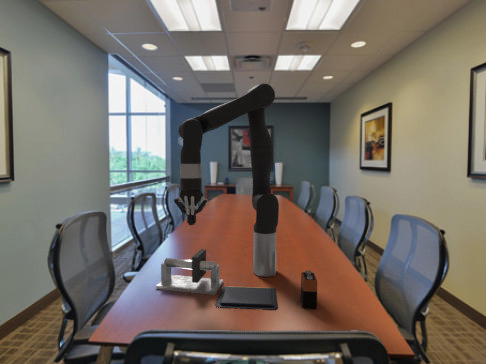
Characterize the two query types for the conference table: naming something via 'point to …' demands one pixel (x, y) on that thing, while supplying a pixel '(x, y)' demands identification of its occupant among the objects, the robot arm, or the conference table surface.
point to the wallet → (247, 298)
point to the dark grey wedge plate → (198, 265)
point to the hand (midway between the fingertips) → (191, 224)
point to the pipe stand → (185, 282)
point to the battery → (308, 290)
